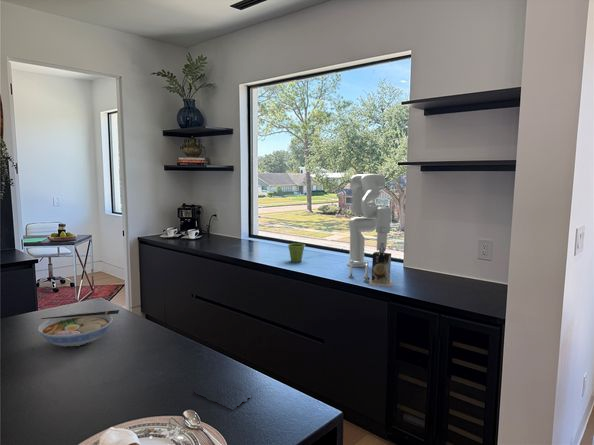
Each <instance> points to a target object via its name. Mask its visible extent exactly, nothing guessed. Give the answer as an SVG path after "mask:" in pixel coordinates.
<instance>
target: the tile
mask: <svg viewBox="0 0 594 445" xmlns="http://www.w3.org/2000/svg"><path fill="white" fill-rule="evenodd" d="M371 281H372V278H369V283H368V285H369V286H374V287H375V286H376V287H377V286H379V287H389V288H392V287H393V280H392V279H390V282H389V283H388V284H384V283H376V282H371Z"/></svg>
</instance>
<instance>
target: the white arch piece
mask: <svg viewBox="0 0 594 445" xmlns="http://www.w3.org/2000/svg"><path fill="white" fill-rule="evenodd" d="M353 263H363V264H366V265H365V266H364V268H365V270H364V272H365V273H364V277H363V283H366V284H367V283H368V284H370V276H369V263H370V262H369V261H364V262H358V261H350V266H349V275H348V279H354V275H353V269H354V268H353Z"/></svg>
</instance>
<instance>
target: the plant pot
mask: <svg viewBox="0 0 594 445" xmlns="http://www.w3.org/2000/svg"><path fill="white" fill-rule="evenodd" d="M287 246H288V251H289V257H290V261H291V262H292V263H300V262H302V259H303V254H304V253H303V252H304V249H305V247H306V244H303V243H290V244H287Z"/></svg>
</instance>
